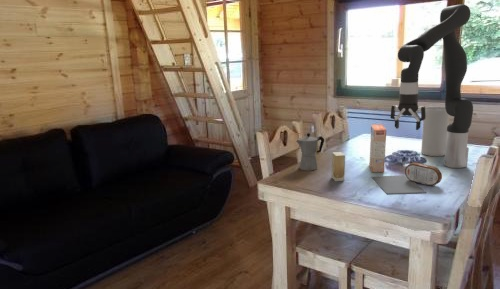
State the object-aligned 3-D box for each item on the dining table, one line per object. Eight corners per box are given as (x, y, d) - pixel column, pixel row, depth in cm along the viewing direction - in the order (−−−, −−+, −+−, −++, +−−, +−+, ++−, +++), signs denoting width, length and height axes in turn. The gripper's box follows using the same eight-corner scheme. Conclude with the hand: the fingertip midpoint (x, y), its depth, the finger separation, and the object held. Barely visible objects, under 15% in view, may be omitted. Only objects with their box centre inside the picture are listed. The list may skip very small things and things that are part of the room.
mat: (406, 176, 182) (406, 175, 182) (426, 192, 161) (426, 192, 161) (371, 177, 183) (371, 176, 183) (387, 194, 161) (387, 193, 161)
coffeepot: (301, 172, 194) (300, 136, 190) (292, 167, 203) (292, 132, 198) (328, 168, 199) (329, 133, 195) (319, 163, 208) (319, 129, 203)
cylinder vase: (442, 150, 222) (446, 106, 216) (449, 156, 210) (453, 110, 204) (418, 150, 224) (421, 106, 218) (424, 156, 212) (427, 110, 206)
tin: (440, 186, 168) (443, 167, 166) (438, 188, 165) (440, 169, 163) (406, 178, 178) (408, 160, 176) (403, 179, 176) (405, 161, 174)
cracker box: (385, 173, 188) (386, 129, 183) (371, 172, 189) (373, 129, 184) (381, 164, 201) (383, 124, 196) (369, 164, 203) (370, 124, 198)
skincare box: (331, 177, 185) (331, 151, 182) (340, 176, 185) (340, 151, 182) (335, 181, 179) (335, 155, 176) (344, 181, 179) (345, 154, 176)
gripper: (428, 91, 171) (426, 128, 175) (394, 91, 180) (393, 126, 183) (424, 94, 166) (422, 131, 169) (389, 93, 174) (388, 129, 178)
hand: (407, 129), depth 176 cm, fingers open, 8 cm apart
